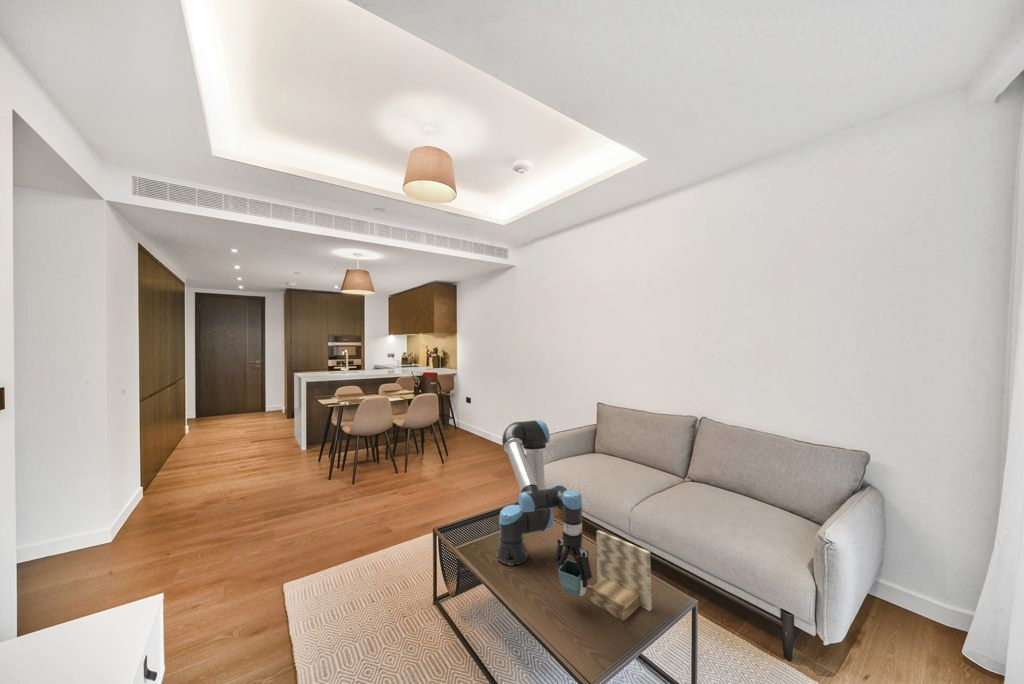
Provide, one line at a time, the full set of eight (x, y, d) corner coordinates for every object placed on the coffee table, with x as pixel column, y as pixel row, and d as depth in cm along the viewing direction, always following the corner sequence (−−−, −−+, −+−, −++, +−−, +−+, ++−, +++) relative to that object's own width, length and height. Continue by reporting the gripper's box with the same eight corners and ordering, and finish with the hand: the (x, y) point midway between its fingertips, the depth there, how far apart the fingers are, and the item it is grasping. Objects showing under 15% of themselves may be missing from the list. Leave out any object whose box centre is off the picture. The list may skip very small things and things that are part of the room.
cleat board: (580, 594, 151) (578, 540, 152) (599, 580, 160) (598, 529, 161) (633, 627, 133) (631, 566, 134) (651, 609, 142) (650, 551, 143)
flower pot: (579, 601, 140) (578, 577, 140) (557, 592, 145) (557, 570, 145) (587, 587, 148) (587, 565, 147) (566, 580, 152) (566, 558, 152)
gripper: (545, 524, 152) (545, 578, 152) (589, 546, 135) (589, 607, 135) (557, 518, 157) (557, 570, 157) (601, 539, 140) (601, 597, 140)
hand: (572, 587), depth 146 cm, fingers closed on flower pot, 9 cm apart
